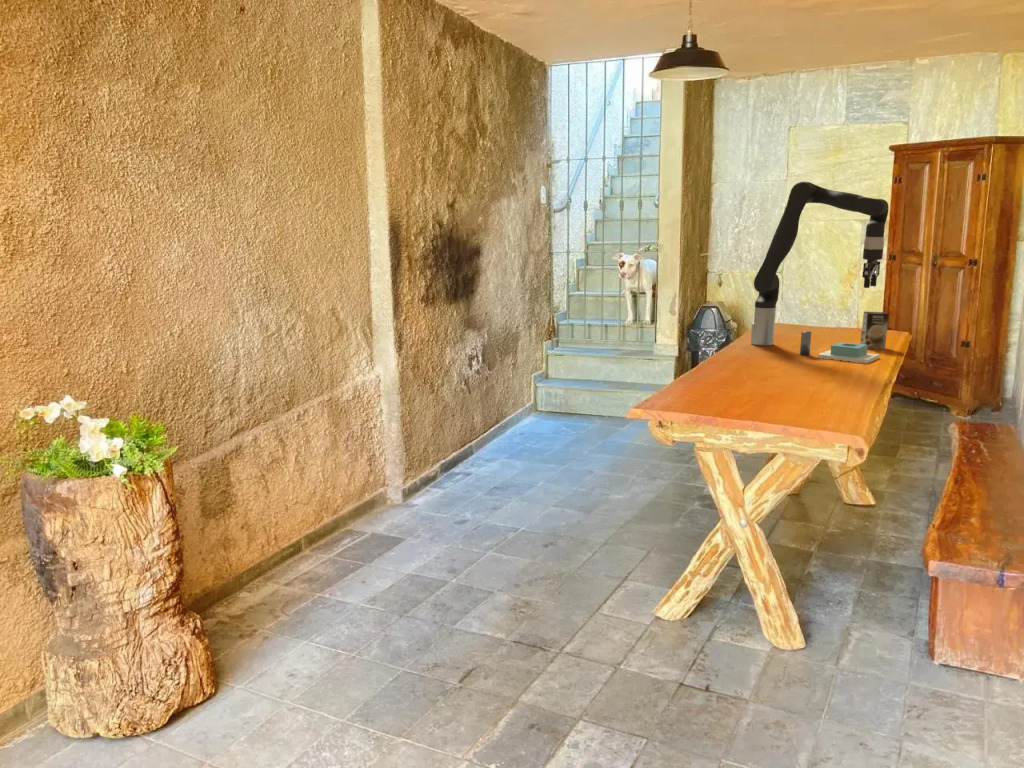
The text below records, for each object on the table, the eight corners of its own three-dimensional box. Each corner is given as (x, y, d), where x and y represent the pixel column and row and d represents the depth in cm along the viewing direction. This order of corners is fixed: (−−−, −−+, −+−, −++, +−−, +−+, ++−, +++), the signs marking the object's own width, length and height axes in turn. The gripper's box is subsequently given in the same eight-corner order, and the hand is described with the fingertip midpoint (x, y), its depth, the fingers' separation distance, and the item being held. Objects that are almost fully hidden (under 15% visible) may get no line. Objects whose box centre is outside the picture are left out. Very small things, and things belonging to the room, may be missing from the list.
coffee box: (864, 349, 359) (867, 313, 355) (859, 346, 365) (862, 311, 362) (885, 349, 358) (889, 313, 354) (880, 346, 364) (883, 311, 361)
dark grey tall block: (798, 354, 345) (800, 331, 343) (801, 353, 348) (803, 330, 346) (807, 355, 343) (809, 332, 341) (811, 354, 346) (812, 331, 344)
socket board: (817, 357, 338) (818, 345, 337) (831, 352, 350) (832, 340, 349) (866, 363, 326) (868, 350, 324) (879, 358, 337) (880, 345, 336)
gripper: (869, 247, 341) (866, 285, 345) (858, 248, 331) (854, 287, 334) (888, 247, 336) (884, 286, 340) (877, 249, 326) (873, 288, 329)
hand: (869, 287), depth 337 cm, fingers open, 8 cm apart
